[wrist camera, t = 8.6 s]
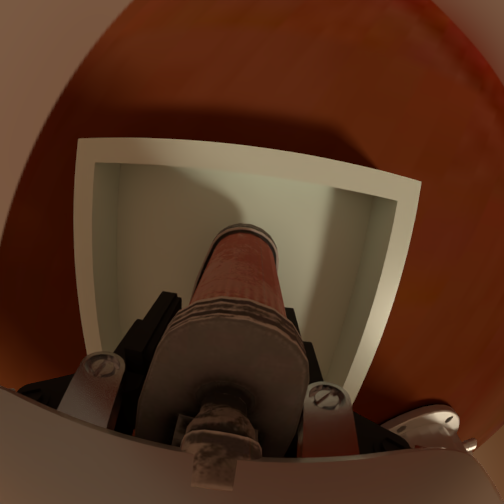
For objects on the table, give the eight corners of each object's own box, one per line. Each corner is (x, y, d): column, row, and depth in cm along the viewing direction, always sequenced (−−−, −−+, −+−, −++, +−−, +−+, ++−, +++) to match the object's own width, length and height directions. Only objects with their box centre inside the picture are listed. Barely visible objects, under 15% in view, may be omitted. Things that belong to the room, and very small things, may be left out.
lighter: (209, 213, 11) (43, 410, 2) (293, 234, 11) (414, 469, 2) (179, 371, 13) (124, 553, 4) (244, 386, 14) (237, 575, 4)
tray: (386, 177, 13) (421, 181, 10) (326, 395, 17) (337, 433, 14) (114, 143, 13) (78, 138, 9) (118, 367, 17) (98, 401, 13)
